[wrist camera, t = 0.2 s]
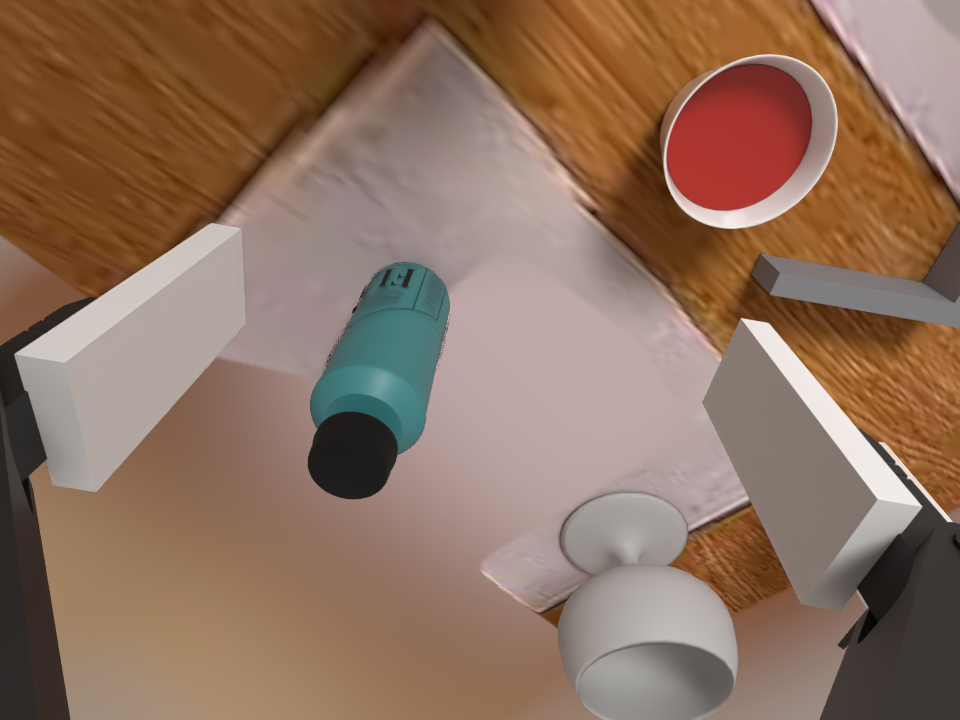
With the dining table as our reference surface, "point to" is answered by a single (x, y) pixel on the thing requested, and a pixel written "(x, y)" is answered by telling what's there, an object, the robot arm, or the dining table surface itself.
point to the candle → (747, 140)
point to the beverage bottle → (378, 381)
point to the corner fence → (870, 286)
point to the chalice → (642, 616)
